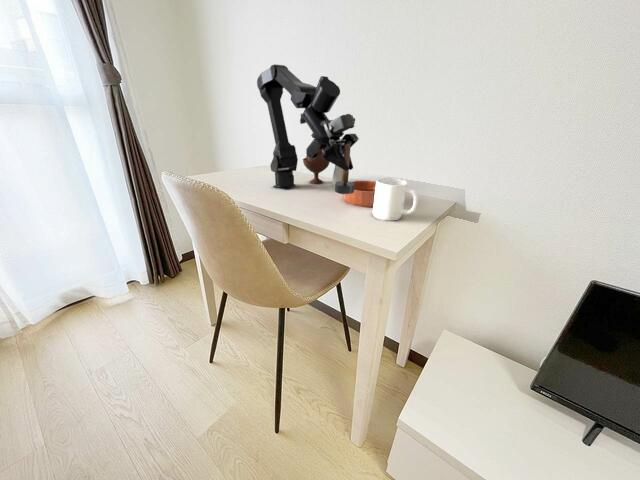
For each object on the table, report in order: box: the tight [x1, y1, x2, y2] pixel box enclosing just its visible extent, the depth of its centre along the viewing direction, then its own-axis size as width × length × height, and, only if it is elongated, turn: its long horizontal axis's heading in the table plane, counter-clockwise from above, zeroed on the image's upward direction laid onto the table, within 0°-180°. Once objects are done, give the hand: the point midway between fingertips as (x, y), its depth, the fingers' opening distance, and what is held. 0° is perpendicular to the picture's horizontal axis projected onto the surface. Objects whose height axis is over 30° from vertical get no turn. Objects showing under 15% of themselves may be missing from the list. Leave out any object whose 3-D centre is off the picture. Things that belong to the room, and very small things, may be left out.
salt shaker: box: [332, 164, 343, 186], centre depth 102 cm, size 6×6×13 cm
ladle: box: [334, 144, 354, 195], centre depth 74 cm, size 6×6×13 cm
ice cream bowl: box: [302, 151, 331, 185], centre depth 105 cm, size 11×11×15 cm
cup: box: [372, 177, 419, 222], centre depth 72 cm, size 8×12×10 cm
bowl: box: [342, 179, 376, 208], centre depth 87 cm, size 14×14×5 cm
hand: (349, 169), depth 73 cm, fingers closed on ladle
